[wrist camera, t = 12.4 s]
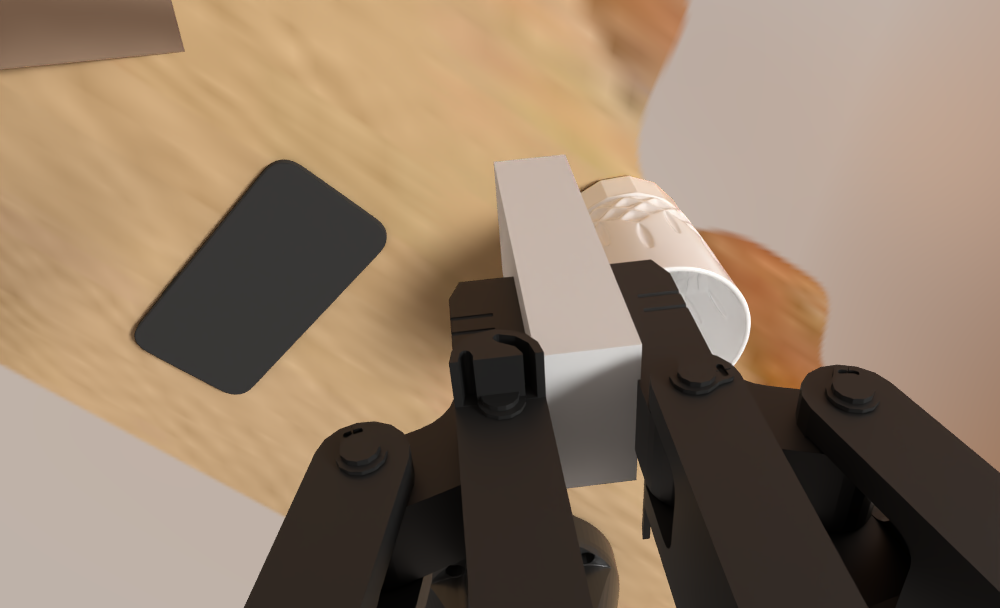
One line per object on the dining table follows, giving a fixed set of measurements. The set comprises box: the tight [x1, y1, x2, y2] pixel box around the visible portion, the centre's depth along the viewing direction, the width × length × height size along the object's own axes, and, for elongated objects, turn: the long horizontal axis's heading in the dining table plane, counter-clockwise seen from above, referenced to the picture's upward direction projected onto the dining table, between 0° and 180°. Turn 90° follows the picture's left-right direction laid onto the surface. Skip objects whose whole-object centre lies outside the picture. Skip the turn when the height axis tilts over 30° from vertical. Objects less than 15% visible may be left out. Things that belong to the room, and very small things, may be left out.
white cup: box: [581, 176, 751, 366], centre depth 39 cm, size 8×8×10 cm
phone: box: [135, 160, 387, 394], centre depth 43 cm, size 7×1×15 cm
